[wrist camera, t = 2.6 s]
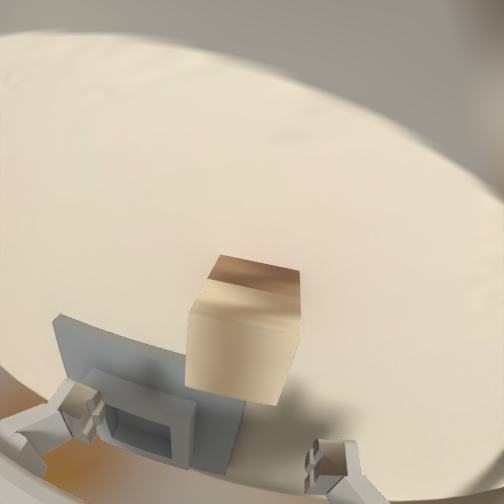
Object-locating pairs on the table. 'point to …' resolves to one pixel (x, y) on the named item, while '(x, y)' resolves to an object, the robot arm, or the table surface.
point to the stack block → (244, 330)
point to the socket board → (149, 399)
